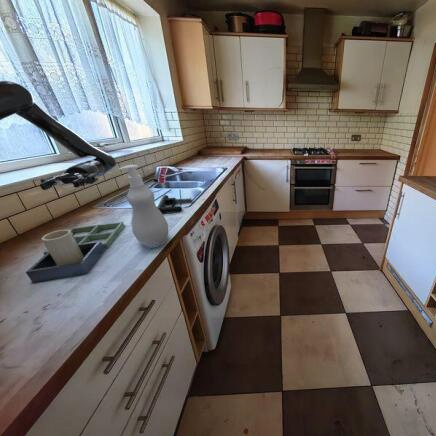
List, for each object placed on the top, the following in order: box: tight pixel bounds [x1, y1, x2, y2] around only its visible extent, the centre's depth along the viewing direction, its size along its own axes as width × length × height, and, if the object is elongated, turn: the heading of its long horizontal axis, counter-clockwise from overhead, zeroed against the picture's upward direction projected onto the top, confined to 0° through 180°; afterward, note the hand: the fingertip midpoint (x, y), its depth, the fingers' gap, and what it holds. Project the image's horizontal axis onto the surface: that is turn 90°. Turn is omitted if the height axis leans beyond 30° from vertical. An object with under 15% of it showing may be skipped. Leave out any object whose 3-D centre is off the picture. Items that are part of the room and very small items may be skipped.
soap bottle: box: [118, 164, 169, 249], centre depth 81 cm, size 17×12×29 cm
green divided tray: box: [42, 221, 125, 256], centre depth 88 cm, size 18×18×2 cm
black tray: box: [25, 240, 106, 283], centre depth 74 cm, size 14×14×4 cm
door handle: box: [156, 194, 193, 214], centre depth 118 cm, size 3×20×16 cm
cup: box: [41, 229, 84, 266], centre depth 72 cm, size 7×7×11 cm
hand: (58, 185), depth 74 cm, fingers open, 8 cm apart
